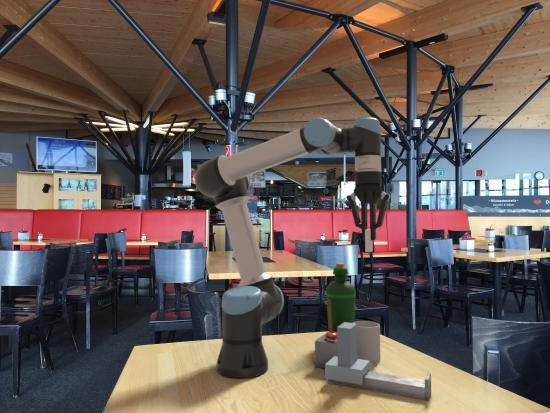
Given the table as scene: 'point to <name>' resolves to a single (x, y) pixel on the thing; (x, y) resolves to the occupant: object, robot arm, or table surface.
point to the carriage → (347, 357)
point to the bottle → (340, 299)
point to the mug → (368, 341)
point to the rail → (393, 385)
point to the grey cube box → (324, 351)
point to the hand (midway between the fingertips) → (369, 251)
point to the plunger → (331, 336)
